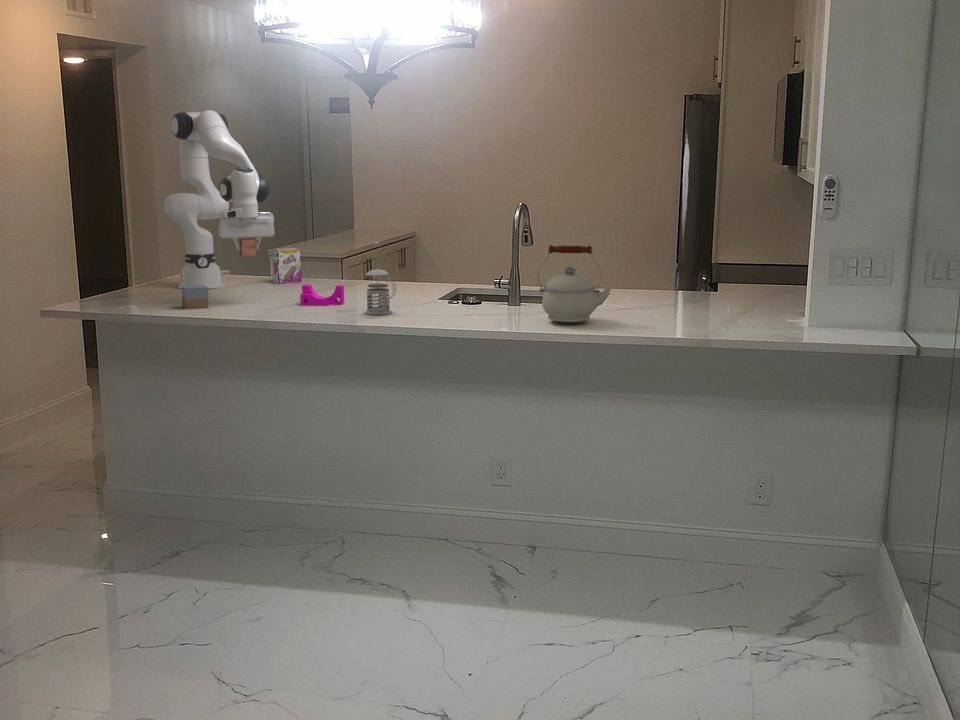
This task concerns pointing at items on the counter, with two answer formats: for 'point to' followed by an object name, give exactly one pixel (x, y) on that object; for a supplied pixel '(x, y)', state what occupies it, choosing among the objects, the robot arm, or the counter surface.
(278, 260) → the candy bar box
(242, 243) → the reddish brown cube
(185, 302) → the tower base
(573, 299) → the kettle
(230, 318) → the counter surface
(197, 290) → the tower middle
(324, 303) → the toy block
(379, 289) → the french press
